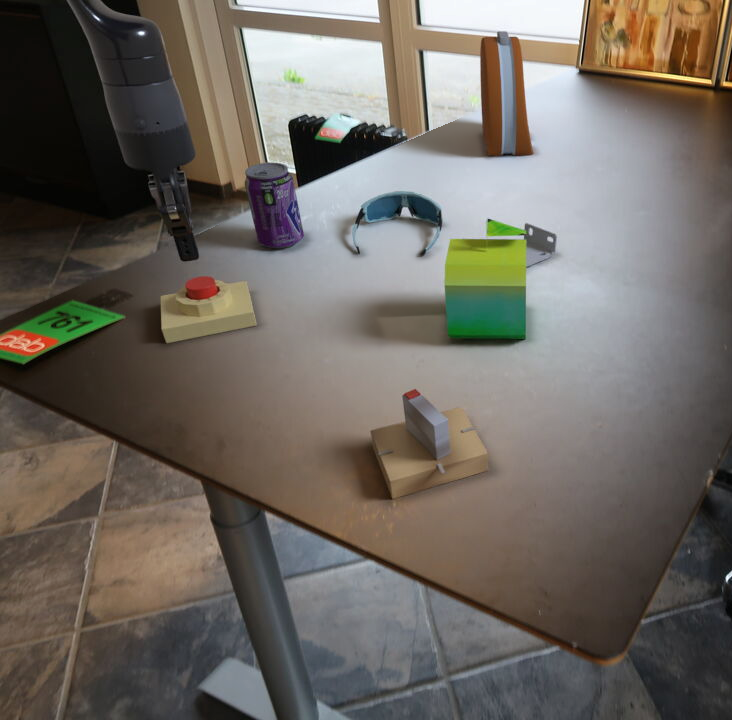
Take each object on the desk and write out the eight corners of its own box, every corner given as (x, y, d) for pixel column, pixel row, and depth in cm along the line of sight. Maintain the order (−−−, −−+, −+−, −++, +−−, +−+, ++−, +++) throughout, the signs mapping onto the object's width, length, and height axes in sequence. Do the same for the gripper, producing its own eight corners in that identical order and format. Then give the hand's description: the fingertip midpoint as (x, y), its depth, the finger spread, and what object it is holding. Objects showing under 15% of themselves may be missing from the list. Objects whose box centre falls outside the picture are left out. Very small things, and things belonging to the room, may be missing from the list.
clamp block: (394, 507, 68) (391, 488, 66) (369, 441, 75) (366, 422, 74) (493, 477, 71) (492, 458, 70) (460, 417, 79) (459, 399, 77)
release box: (166, 343, 89) (156, 317, 87) (165, 309, 96) (156, 284, 94) (257, 325, 93) (250, 299, 91) (249, 294, 100) (243, 269, 97)
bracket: (482, 262, 109) (482, 242, 107) (525, 241, 115) (525, 222, 113) (514, 276, 105) (514, 255, 103) (556, 254, 112) (557, 234, 110)
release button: (189, 303, 91) (185, 291, 90) (188, 290, 93) (184, 279, 92) (219, 298, 92) (215, 286, 91) (217, 285, 94) (213, 273, 93)
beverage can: (290, 254, 110) (275, 180, 103) (250, 248, 111) (232, 175, 104) (312, 234, 116) (299, 163, 109) (273, 229, 117) (258, 159, 110)
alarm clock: (536, 160, 146) (538, 43, 133) (489, 162, 145) (486, 44, 132) (524, 127, 164) (524, 21, 151) (481, 128, 163) (478, 21, 149)
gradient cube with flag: (525, 347, 90) (526, 240, 81) (448, 346, 90) (441, 239, 81) (525, 303, 99) (526, 203, 90) (455, 303, 99) (449, 202, 90)
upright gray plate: (450, 453, 70) (447, 417, 67) (437, 460, 69) (433, 423, 67) (419, 422, 74) (415, 387, 71) (406, 428, 73) (401, 393, 70)
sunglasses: (448, 217, 122) (446, 191, 119) (436, 267, 111) (433, 240, 108) (367, 214, 122) (362, 188, 119) (347, 264, 111) (341, 237, 108)
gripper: (188, 133, 76) (226, 276, 86) (183, 102, 86) (217, 233, 96) (110, 141, 73) (158, 287, 83) (114, 107, 83) (157, 241, 93)
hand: (190, 258), depth 89 cm, fingers closed
